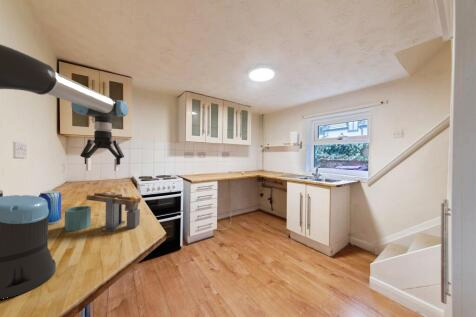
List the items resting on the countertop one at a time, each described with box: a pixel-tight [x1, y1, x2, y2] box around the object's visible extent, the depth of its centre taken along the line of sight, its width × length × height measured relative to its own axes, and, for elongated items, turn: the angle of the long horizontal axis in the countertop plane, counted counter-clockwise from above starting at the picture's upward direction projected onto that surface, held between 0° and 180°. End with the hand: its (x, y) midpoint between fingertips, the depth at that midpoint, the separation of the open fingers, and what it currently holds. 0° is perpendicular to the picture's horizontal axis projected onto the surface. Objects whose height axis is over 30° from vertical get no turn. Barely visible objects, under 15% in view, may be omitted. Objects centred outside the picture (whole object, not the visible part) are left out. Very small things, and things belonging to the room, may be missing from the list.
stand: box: [101, 193, 126, 232], centre depth 91 cm, size 11×5×15 cm, turn 6°
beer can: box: [38, 190, 62, 226], centre depth 94 cm, size 8×8×16 cm
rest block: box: [126, 208, 141, 229], centre depth 92 cm, size 5×4×8 cm
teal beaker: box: [64, 205, 92, 232], centre depth 90 cm, size 9×9×9 cm
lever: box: [85, 191, 141, 212], centre depth 96 cm, size 22×15×6 cm
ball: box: [130, 195, 138, 201], centre depth 92 cm, size 3×3×3 cm
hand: (102, 170), depth 99 cm, fingers open, 13 cm apart
